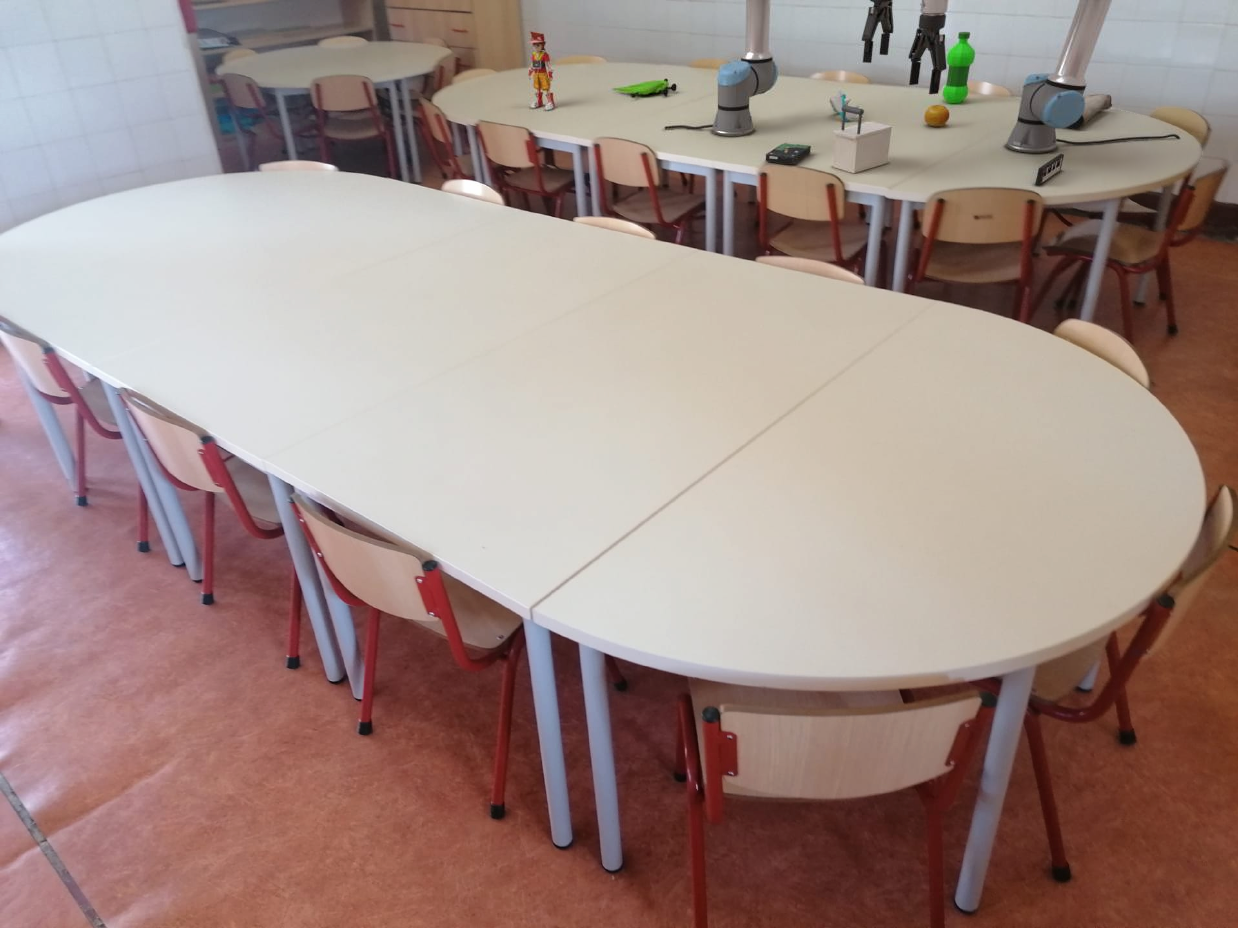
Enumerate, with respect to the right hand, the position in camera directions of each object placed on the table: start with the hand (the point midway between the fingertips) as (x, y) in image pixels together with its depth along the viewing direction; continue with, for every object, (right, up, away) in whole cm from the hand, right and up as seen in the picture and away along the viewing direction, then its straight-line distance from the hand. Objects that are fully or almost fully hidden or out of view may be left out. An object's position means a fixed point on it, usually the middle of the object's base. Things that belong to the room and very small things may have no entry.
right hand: (923, 89), depth 278 cm
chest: (-15, -18, +17) cm, 29 cm away
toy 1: (-127, +36, +104) cm, 169 cm away
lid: (-16, -9, +10) cm, 21 cm away
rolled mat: (+74, +9, +47) cm, 88 cm away
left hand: (-9, +19, +22) cm, 30 cm away
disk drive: (-37, -12, +27) cm, 47 cm away
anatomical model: (-8, +17, +66) cm, 69 cm away
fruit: (+21, +8, +50) cm, 55 cm away
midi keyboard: (+37, -29, -4) cm, 47 cm away
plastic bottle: (+38, +27, +76) cm, 89 cm away
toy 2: (-85, +48, +119) cm, 154 cm away
